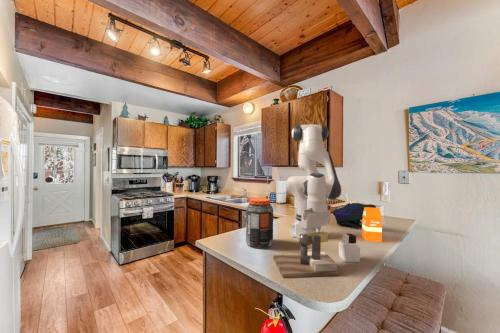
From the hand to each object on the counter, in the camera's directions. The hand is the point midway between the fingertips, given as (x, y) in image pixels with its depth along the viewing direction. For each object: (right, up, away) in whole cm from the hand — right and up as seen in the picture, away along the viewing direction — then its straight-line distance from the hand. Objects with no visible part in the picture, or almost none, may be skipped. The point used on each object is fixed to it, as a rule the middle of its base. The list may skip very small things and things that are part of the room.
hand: (316, 236), depth 103 cm
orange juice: (+45, -13, +32) cm, 57 cm away
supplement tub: (-26, -12, +21) cm, 36 cm away
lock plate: (-7, -12, -6) cm, 15 cm away
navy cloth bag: (+47, -13, +61) cm, 78 cm away
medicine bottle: (+17, -12, +2) cm, 21 cm away
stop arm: (-3, -2, -4) cm, 5 cm away
